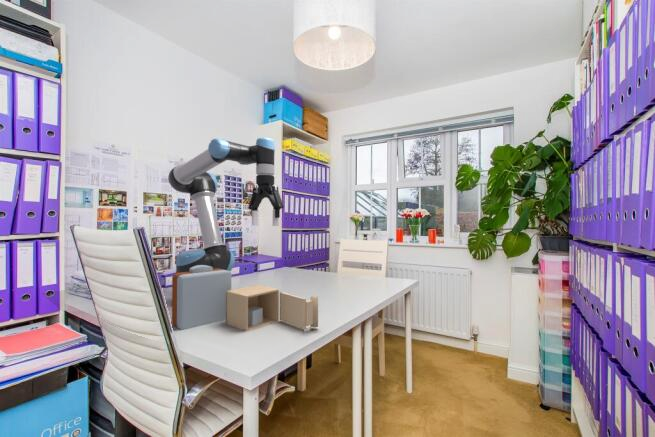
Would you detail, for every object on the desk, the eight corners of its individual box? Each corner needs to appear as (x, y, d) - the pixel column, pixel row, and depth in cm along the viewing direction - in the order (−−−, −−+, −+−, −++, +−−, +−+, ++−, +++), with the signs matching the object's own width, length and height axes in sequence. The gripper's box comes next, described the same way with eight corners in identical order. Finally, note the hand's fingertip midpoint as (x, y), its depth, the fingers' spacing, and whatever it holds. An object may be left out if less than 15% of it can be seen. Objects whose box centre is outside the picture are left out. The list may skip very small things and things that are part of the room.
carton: (226, 324, 111) (226, 290, 111) (258, 315, 121) (258, 284, 121) (246, 332, 103) (246, 296, 103) (278, 322, 114) (278, 289, 114)
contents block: (242, 323, 110) (242, 309, 110) (252, 319, 115) (252, 305, 115) (252, 325, 108) (252, 311, 108) (262, 321, 112) (262, 307, 112)
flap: (306, 330, 102) (306, 299, 102) (279, 319, 113) (279, 292, 113) (319, 326, 107) (319, 296, 107) (291, 316, 117) (292, 289, 117)
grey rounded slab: (221, 314, 123) (221, 262, 123) (232, 319, 116) (232, 264, 116) (171, 325, 110) (171, 267, 110) (180, 332, 103) (180, 270, 103)
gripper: (292, 173, 127) (292, 226, 126) (254, 178, 143) (254, 225, 142) (278, 171, 121) (277, 226, 121) (240, 177, 137) (240, 225, 137)
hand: (265, 225), depth 131 cm, fingers open, 13 cm apart
